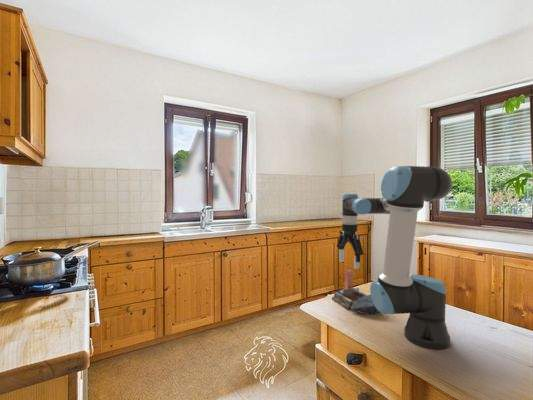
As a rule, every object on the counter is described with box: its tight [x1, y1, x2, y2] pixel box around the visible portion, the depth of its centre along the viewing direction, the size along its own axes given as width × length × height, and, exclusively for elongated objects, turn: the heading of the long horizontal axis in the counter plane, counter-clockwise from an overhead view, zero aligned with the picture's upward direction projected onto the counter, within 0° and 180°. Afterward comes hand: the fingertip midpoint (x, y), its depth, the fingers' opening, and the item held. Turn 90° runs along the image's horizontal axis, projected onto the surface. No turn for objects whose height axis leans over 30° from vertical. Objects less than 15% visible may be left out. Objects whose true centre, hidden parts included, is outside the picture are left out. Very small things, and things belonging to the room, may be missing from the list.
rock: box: [351, 294, 379, 315], centre depth 131 cm, size 16×8×10 cm
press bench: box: [331, 289, 367, 311], centre depth 142 cm, size 14×16×4 cm
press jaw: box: [339, 269, 360, 299], centre depth 146 cm, size 4×9×14 cm, turn 107°
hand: (348, 264), depth 146 cm, fingers open, 13 cm apart
